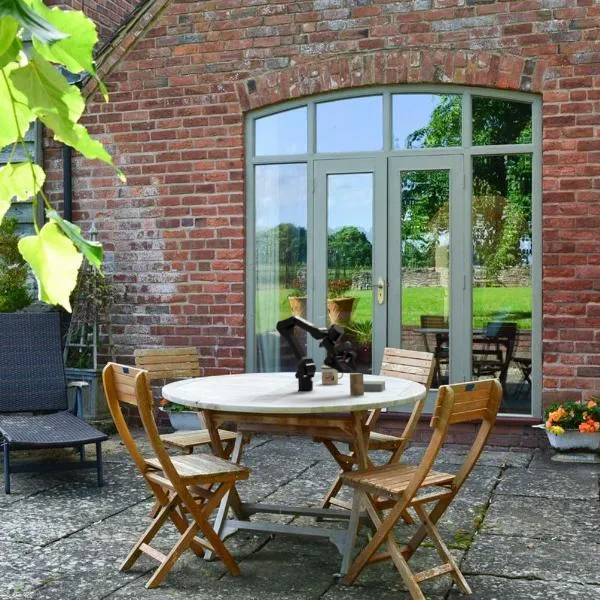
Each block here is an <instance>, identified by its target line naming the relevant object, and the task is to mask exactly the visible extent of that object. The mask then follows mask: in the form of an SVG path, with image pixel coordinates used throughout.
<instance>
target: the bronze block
mask: <svg viewBox="0 0 600 600" xmlns="http://www.w3.org/2000/svg"><path fill="white" fill-rule="evenodd" d="M363 381H364V373H359V372H354V373H350V374H349V389H350V390H349V392H350V396H356V397H359V396H363V395H365V394H364V393H365V391H364V384H363Z"/></svg>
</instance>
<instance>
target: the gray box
mask: <svg viewBox="0 0 600 600" xmlns="http://www.w3.org/2000/svg"><path fill="white" fill-rule="evenodd" d="M363 384H364V392H383V391H384V390H385V389H386V381H385V380H382V381H380V380H374V381H372V380H370V381H369V380H367V381H366V380H363ZM383 389H384V390H383ZM382 390H383V391H382Z"/></svg>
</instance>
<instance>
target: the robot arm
mask: <svg viewBox="0 0 600 600" xmlns="http://www.w3.org/2000/svg"><path fill="white" fill-rule="evenodd" d="M295 327H298V328H301V329H302V330H304V331H305V332H308V333H309V334H310V337H312V339H314V340H316V341H319V340H322V341H319V342H318V343H319V344H318V348H319V349H320V348H324V349H325V351H326V352H327V353H326V357H325V358H324V360H323V365H325V366H328V367H331V368H333V369H335V370H337V371H338V372H340V373H341V374H342V373H343V374H344V373H345V370H344V369H343V367H342V365H341V364H340V362H341V361H343V363H345V365H346V366H348V368H349V369H351V370H352V371H354V372H357V371H358V369H357V365H356V362H355V359H356V357H357V353H356V352H355V351H348V350H350V349H351V348H352V343H351V342H350V341H349V340H348V341H345V342H341V343H340V344H337V343H336V342H338V341H339V340H340V338H341V337H342V336H343V334H344V333H345V330H344V328H343V327H342V326H340V325H338V324H337V323H332V325H331V326H330V328H329V329H328V328H327V327H325V326H324V327H323V326H319V325H315V324H314V323H312V322H310V321H308V320H307V319H304V318H302V317H301V316H300V315H291V316H290V317H287V318H286V319H283V320H278V322H276V326H275V329H276V330H277V332H278V333H279V335H280V336H281V337H283V338H284V339H285V340H286V342H287V344H288V346H289V347H290V351H292V353H293V355H294V357H295V359H296V361H297V369H298V370H297V371H296V372H295V373H294V376H295V379H298V380H297V381H298V383H297V384H298V387H297V388H298V389H297V391H298V392H310V391H312V390H314V380H313V379H312V378H314V377H315V374H316V370H317V367H316V365H317V364H316V363H315V362H314V361H315V360H314V359H313V358H312V357H310V358H308V357H307V355H306V353H305V352H304V349H303V348H302V346H301V344H300V342H299V341H298V338H297V337H296V334H295ZM347 351H348V352H347ZM345 354H346V355H345Z"/></svg>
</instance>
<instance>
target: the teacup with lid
mask: <svg viewBox="0 0 600 600" xmlns="http://www.w3.org/2000/svg"><path fill="white" fill-rule="evenodd" d="M320 369H321V371H320V372H321V385H337V384H338V383H339V380H341V379H342V378H343V376H344V373H341V376H339V373H338V372H339V371H337V370H335V369H333V368H331V367H328V366H325V364H323V365H321V367H320Z"/></svg>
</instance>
